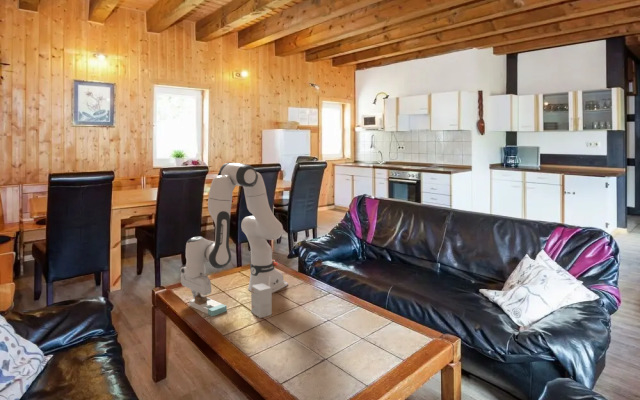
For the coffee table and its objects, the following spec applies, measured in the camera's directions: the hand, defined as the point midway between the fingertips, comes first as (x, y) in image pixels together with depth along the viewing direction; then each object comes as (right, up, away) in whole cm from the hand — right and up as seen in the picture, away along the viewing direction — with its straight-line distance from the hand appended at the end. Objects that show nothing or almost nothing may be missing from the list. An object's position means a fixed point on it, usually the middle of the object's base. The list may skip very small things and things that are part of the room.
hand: (196, 298), depth 197 cm
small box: (+32, -5, -7) cm, 33 cm away
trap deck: (+6, -4, -2) cm, 8 cm away
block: (+3, -1, -2) cm, 4 cm away
